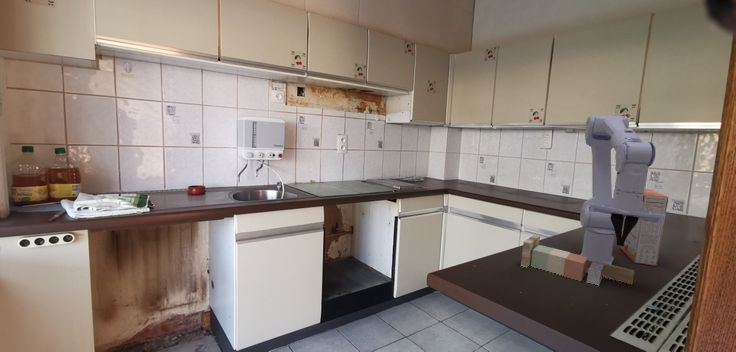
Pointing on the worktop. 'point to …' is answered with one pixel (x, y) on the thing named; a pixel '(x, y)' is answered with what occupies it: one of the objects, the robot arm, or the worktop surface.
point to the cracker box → (647, 231)
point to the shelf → (608, 271)
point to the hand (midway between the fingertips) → (620, 244)
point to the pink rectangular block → (575, 266)
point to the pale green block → (540, 257)
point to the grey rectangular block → (595, 273)
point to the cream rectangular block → (557, 261)
